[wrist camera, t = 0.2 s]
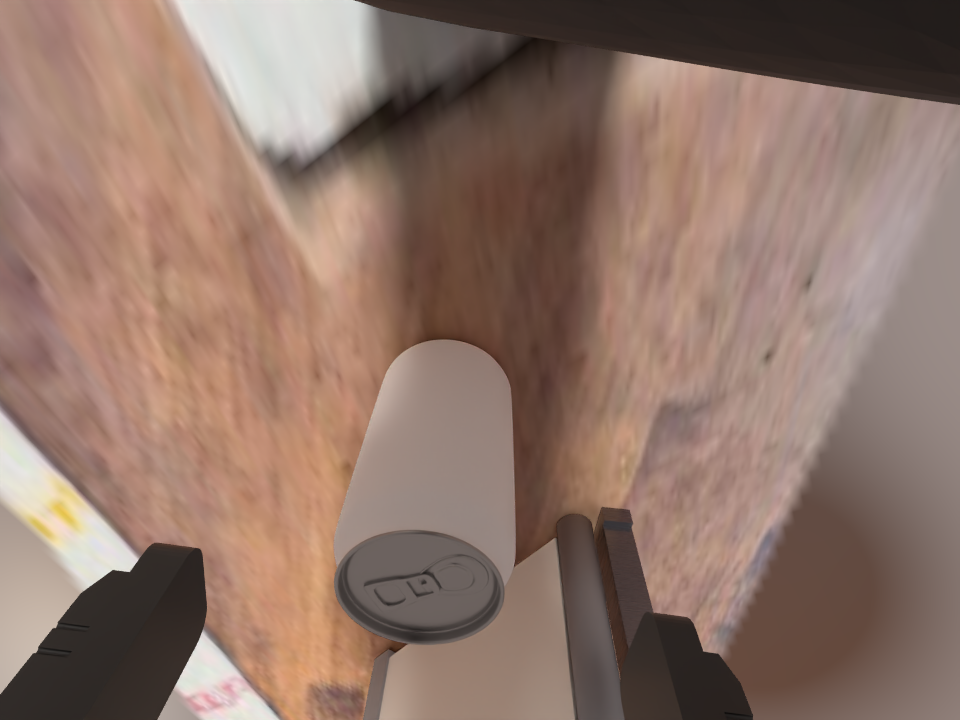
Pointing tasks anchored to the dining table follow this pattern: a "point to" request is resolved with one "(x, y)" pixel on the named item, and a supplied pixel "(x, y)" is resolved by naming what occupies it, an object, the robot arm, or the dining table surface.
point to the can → (431, 500)
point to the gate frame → (621, 577)
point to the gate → (517, 650)
